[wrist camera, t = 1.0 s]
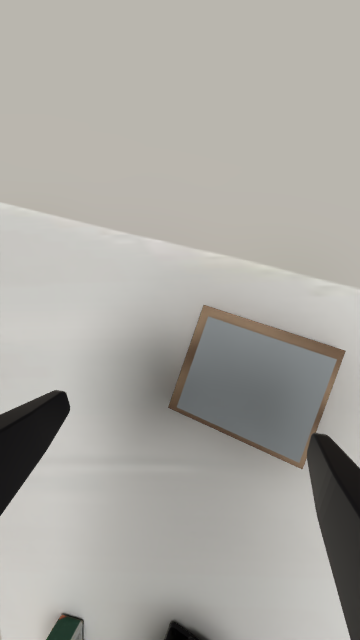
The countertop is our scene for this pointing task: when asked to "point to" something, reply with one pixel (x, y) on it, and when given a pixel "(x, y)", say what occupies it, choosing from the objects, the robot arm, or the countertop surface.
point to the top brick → (256, 387)
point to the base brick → (265, 331)
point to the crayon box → (67, 629)
